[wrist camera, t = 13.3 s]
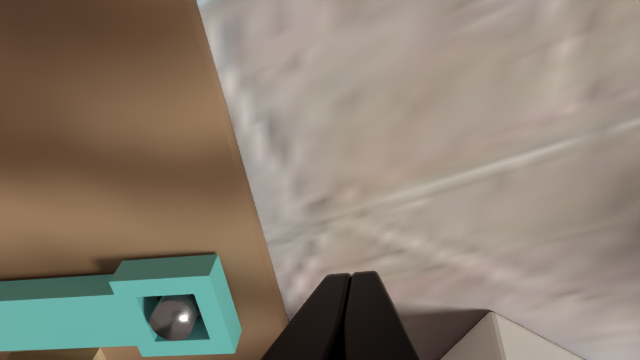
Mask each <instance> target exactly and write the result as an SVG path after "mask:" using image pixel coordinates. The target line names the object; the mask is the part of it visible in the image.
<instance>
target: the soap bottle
mask: <svg viewBox="0 0 640 360" xmlns="http://www.w3.org/2000/svg"><path fill="white" fill-rule="evenodd" d="M440 360H584V359H582V358H581V357H579V356H577V355H575V354H573V353H571V352H569V351H567V350H565V349H563V348H561V347H560V346H558V345H556V344H554V343H552V342H550V341H548V340H546V339H544V338H542V337H540V336H539V335H537V334H535V333H533V332H531V331H529V330H527V329H525V328H523V327H521V326H519V325H518V324H516V323H514V322H512V321H510V320H508V319H506V318H504V317H502V316H500V315H498V314H497V313H495V312H489V313H488V314H487V315H486V316H485V317H483V318H482V319H481V320H480V321H479V322H478V323H477V324H476V325H475V326H474V327H473V328H472V329H471V330H470V331H469V332H468V333H467V334H466V335H465V336H464V337H463V338H462V339H461V340H460V341H459V342H458V343H457V344H456V345H455V346H454V347H453V348H452V349H451V350H449V351H448V352H447V353H446V354H445V355H444V356H443V357H442V358H441V359H440Z"/></svg>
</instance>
